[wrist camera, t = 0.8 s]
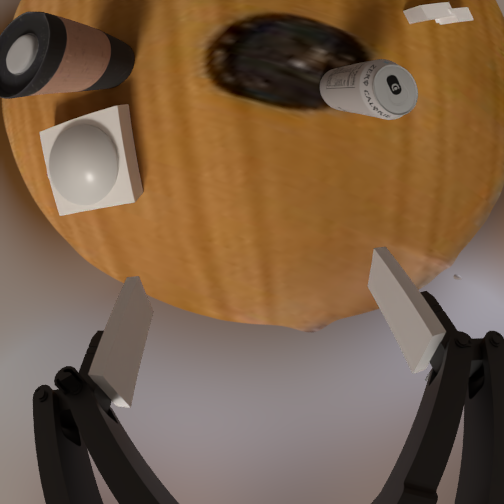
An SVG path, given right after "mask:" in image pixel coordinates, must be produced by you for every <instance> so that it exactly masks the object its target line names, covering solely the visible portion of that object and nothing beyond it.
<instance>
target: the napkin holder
mask: <svg viewBox="0 0 504 504" xmlns="http://www.w3.org/2000/svg"><path fill="white" fill-rule="evenodd" d="M403 12H404V14H405V16H406V18H407V20H408V22H409V24H412V23H417V22H422V21H427V20H433V19H435V21H436V23H440V25H442V24H448V23H455V22H462V21H471V20H474V19H473V17H472V15H471V13H470V11H469V9H468V7H465V8H453V9H452V7H451V6H450V4H449V2H444V3H434V4H426V5H419V6H416V7H413V8H410V9H407V10H404V11H403Z"/></svg>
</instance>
